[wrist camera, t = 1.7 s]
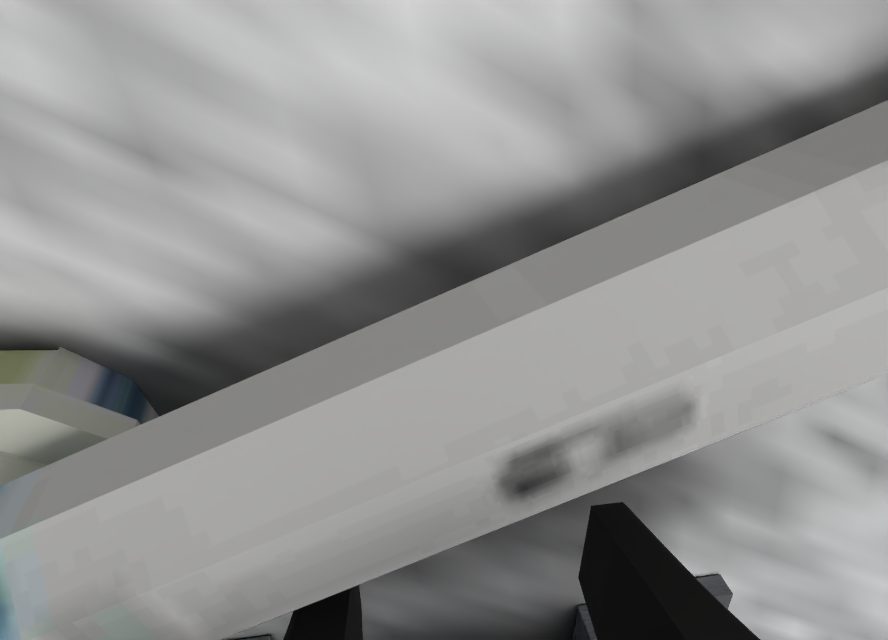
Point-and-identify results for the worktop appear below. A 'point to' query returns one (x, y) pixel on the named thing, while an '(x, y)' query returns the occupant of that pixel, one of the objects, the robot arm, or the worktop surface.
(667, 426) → the light grey piece
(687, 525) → the worktop surface
